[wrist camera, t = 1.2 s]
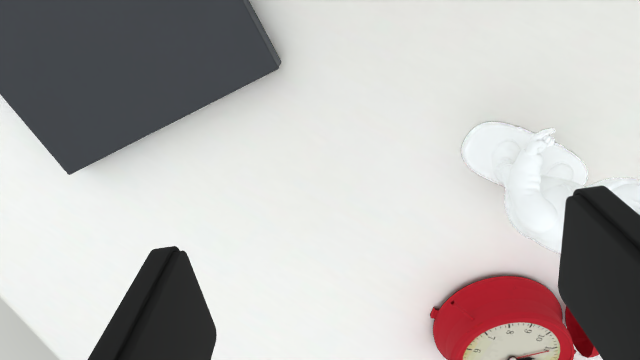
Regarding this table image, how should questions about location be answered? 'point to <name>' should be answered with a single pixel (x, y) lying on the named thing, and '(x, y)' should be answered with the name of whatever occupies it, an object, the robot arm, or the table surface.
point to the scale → (122, 67)
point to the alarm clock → (507, 323)
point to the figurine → (535, 177)
